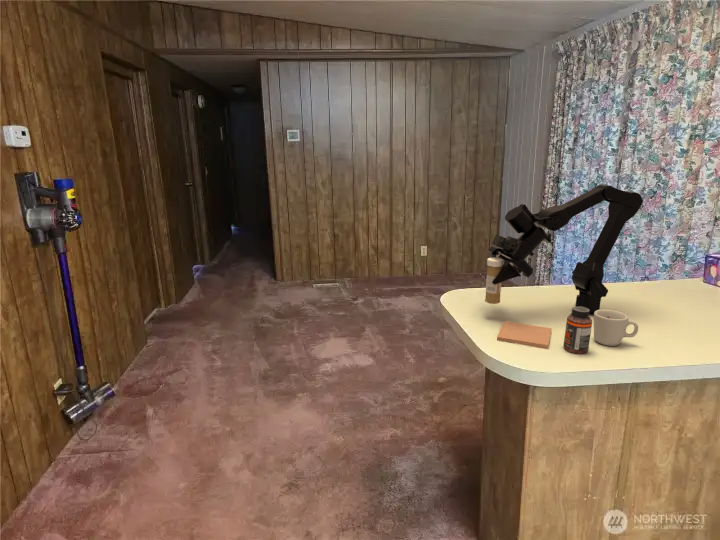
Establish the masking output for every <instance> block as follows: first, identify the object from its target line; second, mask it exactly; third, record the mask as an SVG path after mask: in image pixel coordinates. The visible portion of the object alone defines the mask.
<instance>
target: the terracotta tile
mask: <svg viewBox="0 0 720 540" xmlns="http://www.w3.org/2000/svg"><path fill="white" fill-rule="evenodd" d="M551 335H552V327H545V326H540V325H533V324H525V323H518V322H513V321H508V320H507V321H506V320H504V321H503V323H502V326H501V328H500V330H499V332H498V335H497V336H496V338H497V339H496V341H498V340H499V342H504V341H506V342H505V343H510V342H512V343H511V344H516V343H517V345H523V346H530V347H534V346H535V348H539V349H540V348H541V349H547V350H549V346H550V342H551V341H550V340H551Z"/></svg>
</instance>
